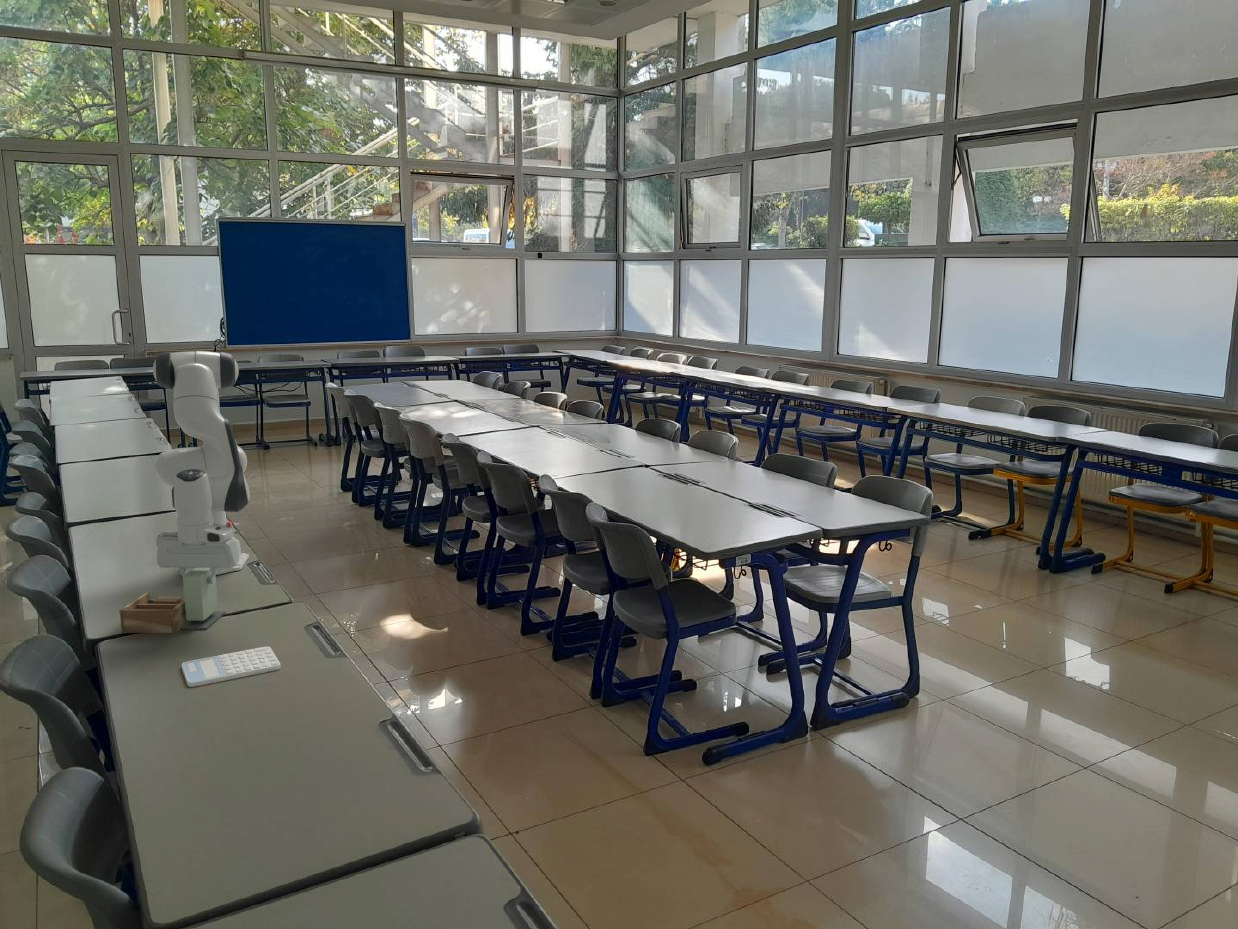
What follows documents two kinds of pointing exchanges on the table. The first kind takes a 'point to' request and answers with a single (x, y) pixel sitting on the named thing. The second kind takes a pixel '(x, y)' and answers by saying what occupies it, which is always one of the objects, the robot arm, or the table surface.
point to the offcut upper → (168, 600)
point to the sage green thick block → (199, 594)
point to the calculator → (229, 666)
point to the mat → (203, 624)
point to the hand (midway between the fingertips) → (200, 583)
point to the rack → (152, 616)
